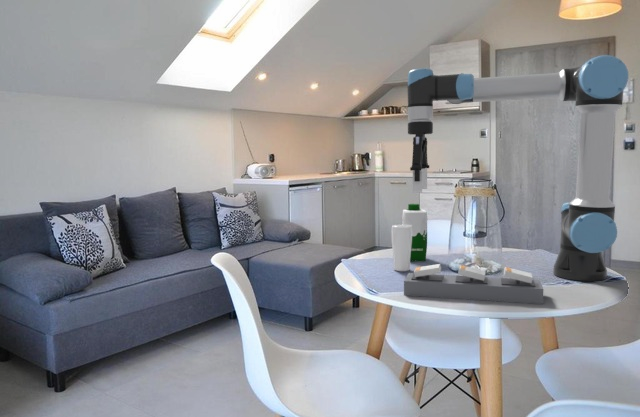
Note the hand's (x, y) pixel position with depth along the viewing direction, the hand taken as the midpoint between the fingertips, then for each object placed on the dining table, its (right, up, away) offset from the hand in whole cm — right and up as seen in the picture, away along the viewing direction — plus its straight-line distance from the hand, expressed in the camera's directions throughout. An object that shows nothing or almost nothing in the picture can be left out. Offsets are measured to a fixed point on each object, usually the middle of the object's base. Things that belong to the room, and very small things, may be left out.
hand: (420, 190), depth 166 cm
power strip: (+11, -29, -17) cm, 36 cm away
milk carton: (+4, -24, +30) cm, 39 cm away
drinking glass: (-4, -26, +13) cm, 30 cm away
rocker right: (+22, -23, -21) cm, 39 cm away
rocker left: (-1, -23, -14) cm, 27 cm away
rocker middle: (+11, -23, -18) cm, 31 cm away
